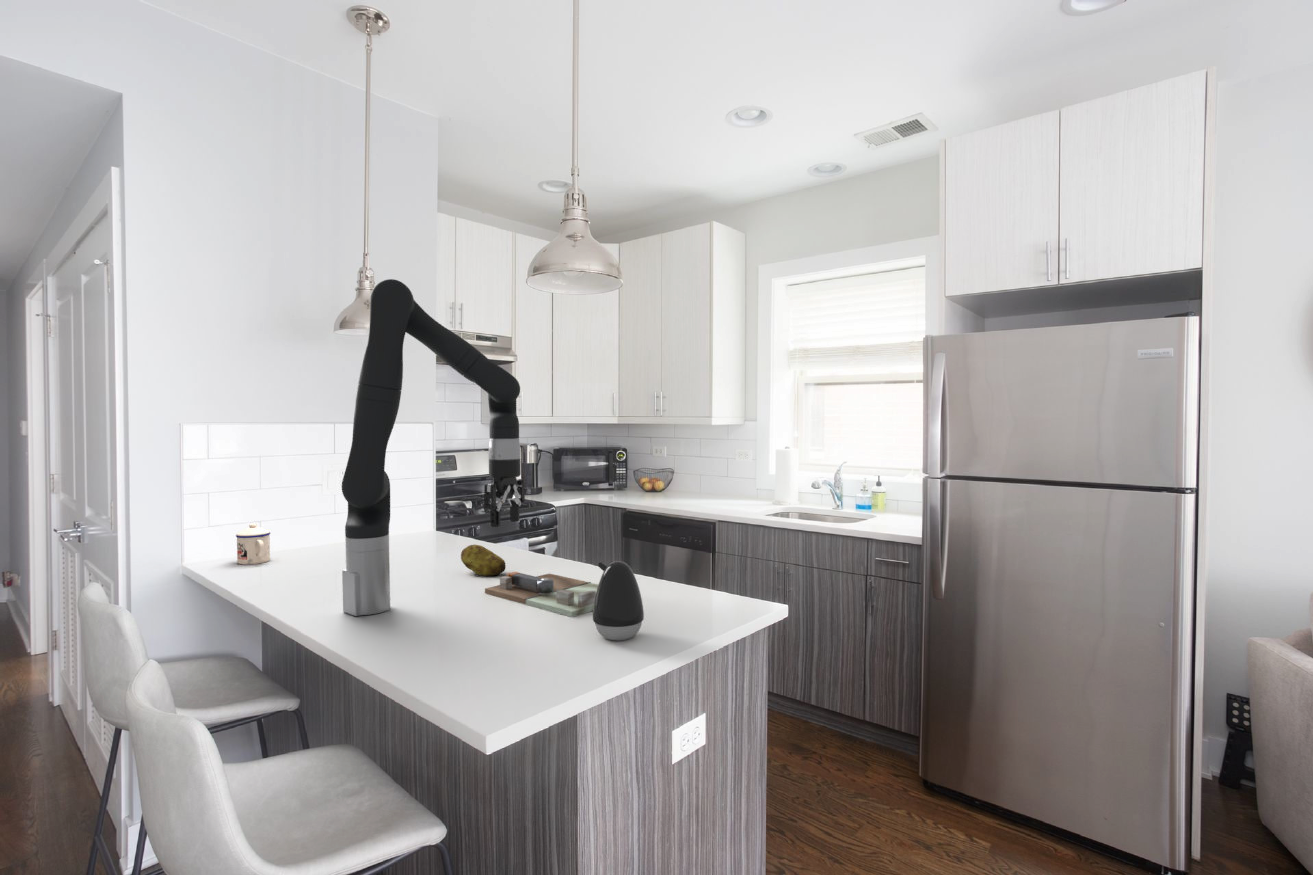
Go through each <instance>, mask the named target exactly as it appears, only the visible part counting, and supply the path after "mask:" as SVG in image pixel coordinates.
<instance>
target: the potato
mask: <svg viewBox="0 0 1313 875" xmlns="http://www.w3.org/2000/svg"><path fill="white" fill-rule="evenodd" d="M460 560H461V562H462V564H463V565H464V566H465V567H466V568H467V569H469V570H470V571H472V572H473V573H474V574H476V575H479V576H484V577H489V576H490V577H491V576H495V575H496V576H498V575H500V574H502V573H503V572H504V571H506V569H507V568H506V566H507V565H506V561H505V559H503V558H502V557H501V556H499V555H498V554H496V553H494V552H493V551H491V550H490V549H488V548H486V547H485V546H482V545H479V544H470V545H468V546H466V547H464V548H463V549H462V551H461V552H460Z"/></svg>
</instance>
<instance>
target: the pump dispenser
mask: <svg viewBox="0 0 1313 875" xmlns="http://www.w3.org/2000/svg"><path fill="white" fill-rule="evenodd" d="M597 567H599V569H601V570H602V571H603V572H602V574H601V576H600V579H599V582H598V584H599V585H598V588H597V592H596V596H595V601H594V608H593V611H592V620H593V623H594V626H595V629H596V630H597V632H598V634H599V635H601V637H603V638H604V639H606V640H609V641H617V642H618V641H619V642H621V641H626V640H629V639H631V638H633V637H634V636H636V635H637V634H638V633H639V631H640V629H641V627H642V624H643V621H644V616H645V613H644V604H643V599H642V594H641V591H640V587H639V584H638V580H637V578H636V575H635V573H634V572H633V569H632V568H631V566H629V565H628V564H627V563H626V562H624V561H619V560H615V561H613V562H610V563H609V564H608V565H607V564H605V563H604V562H602V561H599V562H598V563H597Z"/></svg>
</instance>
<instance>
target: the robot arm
mask: <svg viewBox="0 0 1313 875" xmlns="http://www.w3.org/2000/svg"><path fill="white" fill-rule="evenodd" d="M369 303H370V304H369V305H370V306H369V330H368V331H369V332H368V339H367V345H366V347H365V351H364V356H363V358H362V363H361V367H360V372H359V377H358V382H357V387H356V389H357V390H356V394H355V396H356V398H355V403H354V404H355V405H354V413H353V423H352V424H353V425H352V440H351V445H350V446H351V447H350V451H349V455H348V458H347V463H346V465H345V466H346V467H345V471H344V473H343V477H342V481H341V492H342V496H343V497H344V499H345V501H346V502H347V515H346V516H347V519H346V523H345V525H344V535H345V536H344V538H345V569H343V570H342V574H341V576H342V582H341V583H342V612H344V613H346V614H349V615H351V616H353V617H359V616H364V615H365V616H369V615H370V616H371V615H376V614H379V613H380V614H381V613H384V612H387V611H388V610H390V609H391V575H390V573H391V570H390V569H391V567H390V561H391V560H390V521H391V483H390V482H391V481H390V478H389V476H388V473H387V472H386V471H385V465H386V454H387V447H388V443H389V440H390V437H391V435H392V431H393V429H394V426H395V422H396V419H397V417H398V414H399V410H400V409H399V408H400V403H401V397H402V396H401V395H402V388H403V378H404V376H403V375H404V359H403V358H404V356H403V354H404V340H405V337H406V336H405V335H406V334H407V335H410V336H411V337H412V338H414V339H415V340H416V341H418V342H419V343H421V344H422V345H424V346H425V347H426V348H428V350H430V351H431V352H433V353H434V354H435V355H436V356H437V357H438V358H440V360H442V361H443V362H445V363H446V364H447V365H448V366H449V367H451V369H453V370H455V371H456V372H457V373H458V374H460V375H461V376H463V377H464V378H465V379H467V380H468V381H470V382H472V383H475V384H476V385H477V386H478V387H479V388H481V389H482V390H483V391H485V392H486V393H487V401H488V411H489V412H488V413H489V425H488V426H489V430H488V431H489V443H488V476H489V478H492V483H485V484H484V485H483V486H484V487H483V489H484V492H483V498H484V499H483V509H484V510H488V511H489V512H490V513H489V515H490V519H489V520H490V526H491V527H493V528H499V527H501V511H500V510H501V508H502V505H503V504H505V502H506V501H508V503H509V505H510V506H509V521H510V522H511V523H513V522H514V523H518V522H519V521H520V506H522V504H524V503H525V501H526V498H525V496H526V493H525V480H524V479H523V478H518V477H520V476H521V474H522V473H521V470H522V469H521V468H522V467H521V444H520V421H519V417H518V414H517V398H519V395H520V393H521V386H520V382H519V381H518V379H517V378H516V376H514V375H513V374H511V373H510V372H509V371H507V370H506V369H504V368H503V367H501V366H500V365H498V364H496V363H495V362H493V361H491V359H490V358H488V357H487V356H486V355H485V354H483V352H481V351H480V350H479V349H477V348H476V347H475V346H473V345H472V344H471V343H469V342H468V341H467V340H465V339H464V338H463V337H461V336H460V335H458V334H456V333H455V332H454V331H452V330H450V329H448V328H447V327H445V326H444V325H442V324H441V323H439V322H438V321H437V320H435V319H434V317H432V316H430V314H428V313H427V312H426V311H425V310H424V309H423V308H422V307H421V306H420V305H419V304H418V302H417V301H416V300H415V299H414V295H413V293H412V290H410V288H409V287H408V286H407V285H406V284H404V283H403V282H402V281H400V280H398V279H392V278H391V279H388V278H387V279H384V280H382V281H380V282H378V283H377V284H376V285H375V286H374V287H373V289H372V290H371V293H370V297H369ZM489 502H490V503H489Z"/></svg>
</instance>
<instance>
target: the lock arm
mask: <svg viewBox="0 0 1313 875" xmlns="http://www.w3.org/2000/svg"><path fill="white" fill-rule="evenodd" d="M506 576H508V577H512V585H516V586H520V587H523V588H527V589H531V590H535V591H537V592H538V593H550V592H553V591H554V583H553V579H548V578H540V577H536V575H535V576H534V575H530V574H526V573H522V572H518V571H512V572H509V573H507V575H506Z"/></svg>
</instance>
